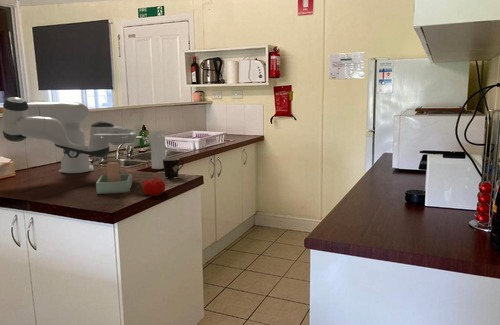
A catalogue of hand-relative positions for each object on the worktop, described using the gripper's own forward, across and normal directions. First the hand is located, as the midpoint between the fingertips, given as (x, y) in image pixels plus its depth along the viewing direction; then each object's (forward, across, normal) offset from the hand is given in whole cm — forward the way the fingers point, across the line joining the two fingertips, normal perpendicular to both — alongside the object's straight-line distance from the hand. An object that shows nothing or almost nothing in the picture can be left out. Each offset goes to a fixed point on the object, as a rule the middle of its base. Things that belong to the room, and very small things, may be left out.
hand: (113, 139), depth 193 cm
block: (0, 0, +22) cm, 22 cm away
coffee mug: (-15, +28, +23) cm, 39 cm away
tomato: (+19, +18, +23) cm, 35 cm away
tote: (+4, 0, +23) cm, 23 cm away
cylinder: (+8, 0, +22) cm, 23 cm away
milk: (-45, +20, +23) cm, 54 cm away
